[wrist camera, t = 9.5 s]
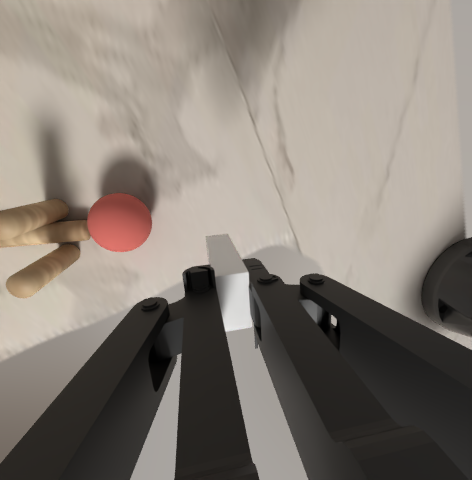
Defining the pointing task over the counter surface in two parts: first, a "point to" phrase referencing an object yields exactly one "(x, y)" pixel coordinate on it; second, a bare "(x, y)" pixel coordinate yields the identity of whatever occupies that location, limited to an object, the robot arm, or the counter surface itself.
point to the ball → (119, 222)
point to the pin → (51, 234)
